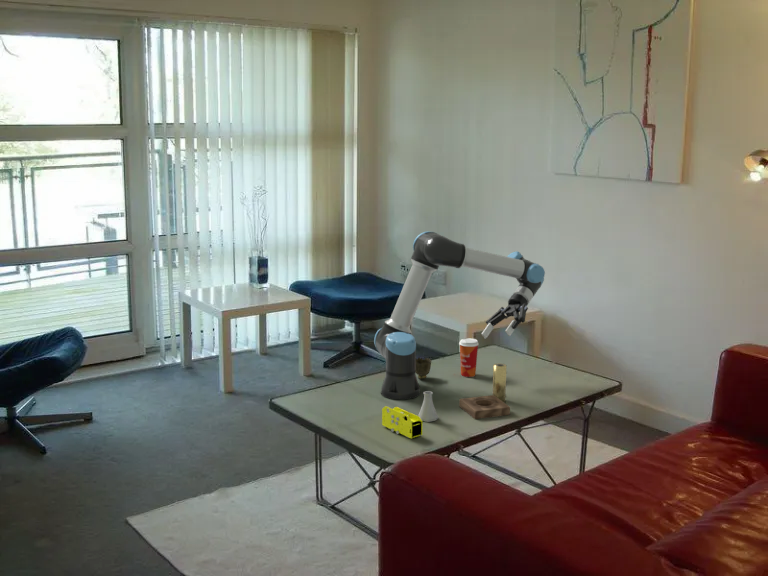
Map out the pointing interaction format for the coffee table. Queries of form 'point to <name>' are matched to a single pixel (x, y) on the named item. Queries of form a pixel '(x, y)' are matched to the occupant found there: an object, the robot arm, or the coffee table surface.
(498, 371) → the cylinder
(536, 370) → the coffee table surface
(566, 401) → the coffee table surface
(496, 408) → the jig plate
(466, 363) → the coffee cup
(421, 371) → the cup
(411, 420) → the yellow toy chassis
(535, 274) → the robot arm
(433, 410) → the flask
